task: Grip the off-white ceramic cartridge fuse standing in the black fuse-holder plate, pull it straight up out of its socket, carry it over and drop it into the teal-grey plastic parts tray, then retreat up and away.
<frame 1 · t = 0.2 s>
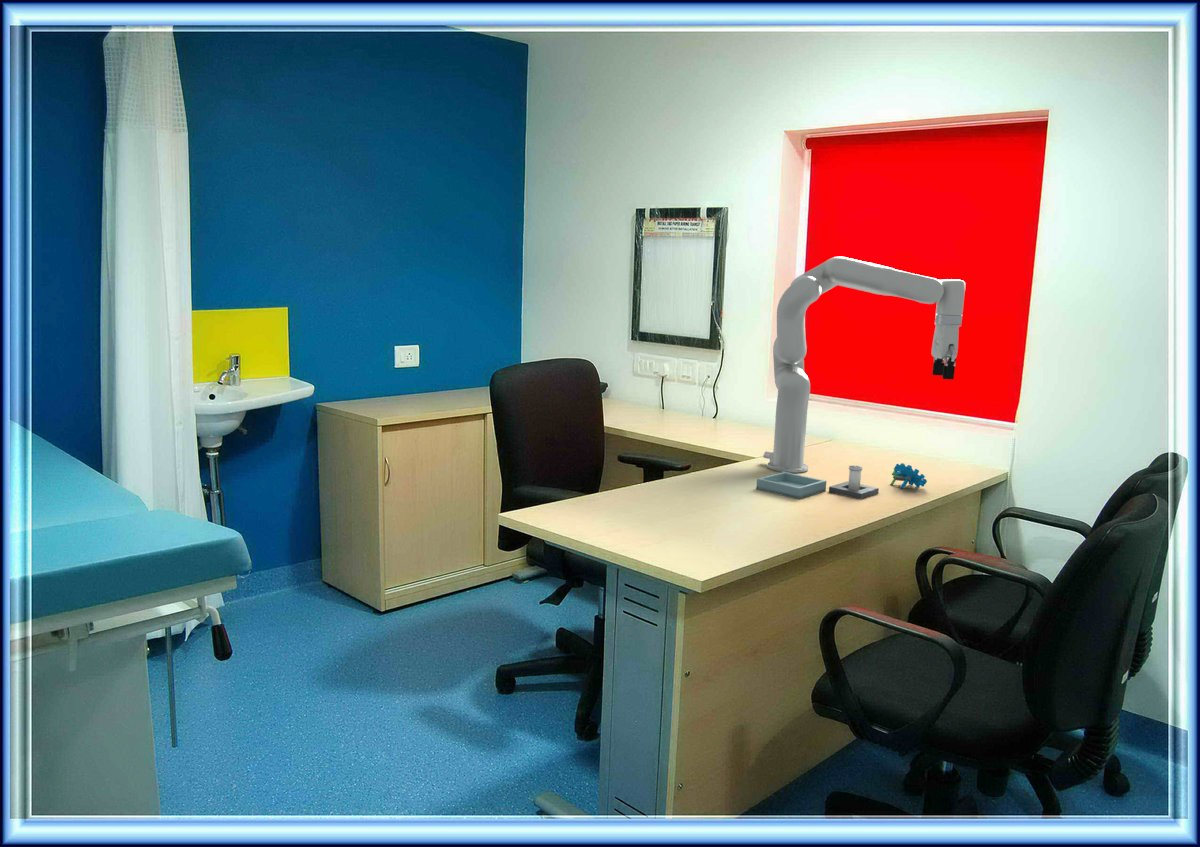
hand: (942, 377, 273), 31 cm above the table, tool pointing down, fingers open, 9 cm apart
parts tray: (791, 490, 255), on the table
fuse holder: (853, 492, 254), on the table
blue lumpy figure: (907, 488, 263), on the table
fuse: (854, 479, 254), in the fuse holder
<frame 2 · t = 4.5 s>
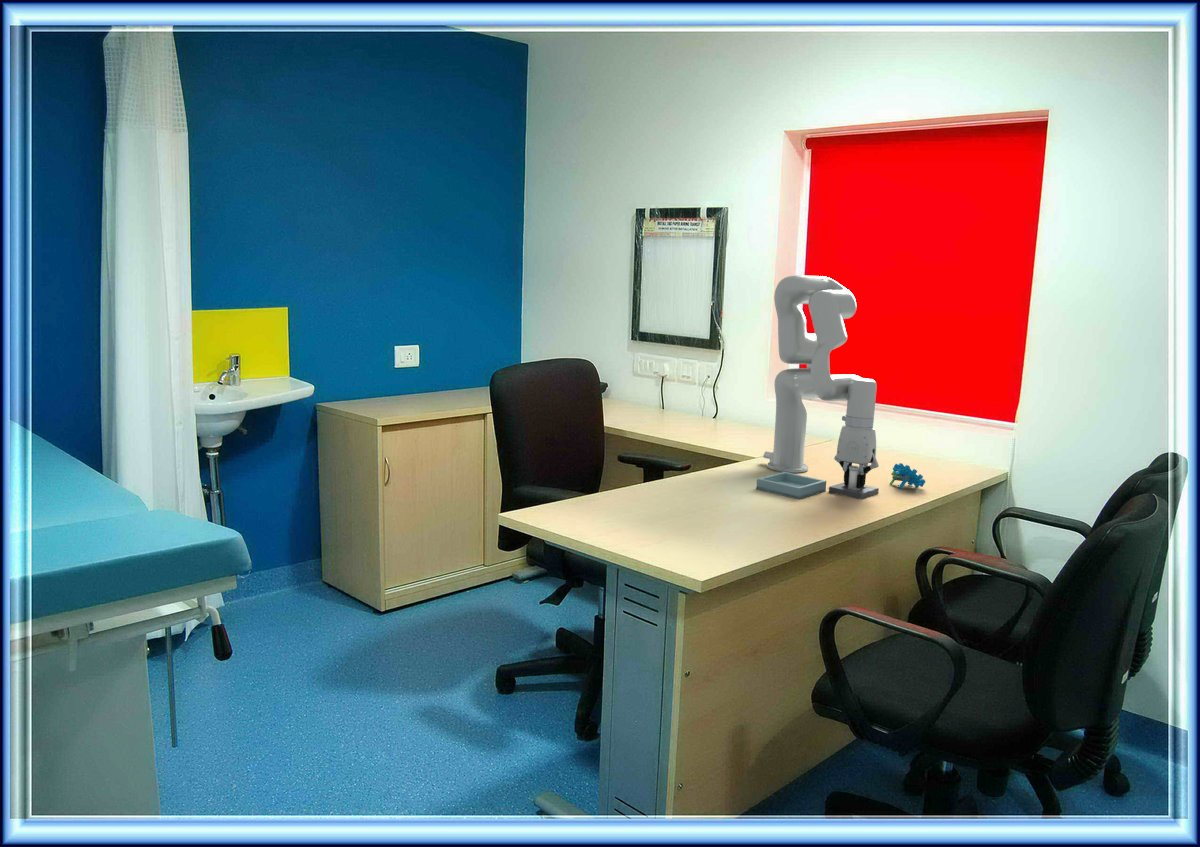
hand: (854, 485, 254), 2 cm above the table, tool pointing down, fingers closed on fuse, 3 cm apart
fuse: (854, 479, 254), in the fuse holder, touching gripper
everything else where it was.
when the fingers open (4 cm above the table, at t = 10.6 s): fuse drops 1 cm, resting on parts tray.
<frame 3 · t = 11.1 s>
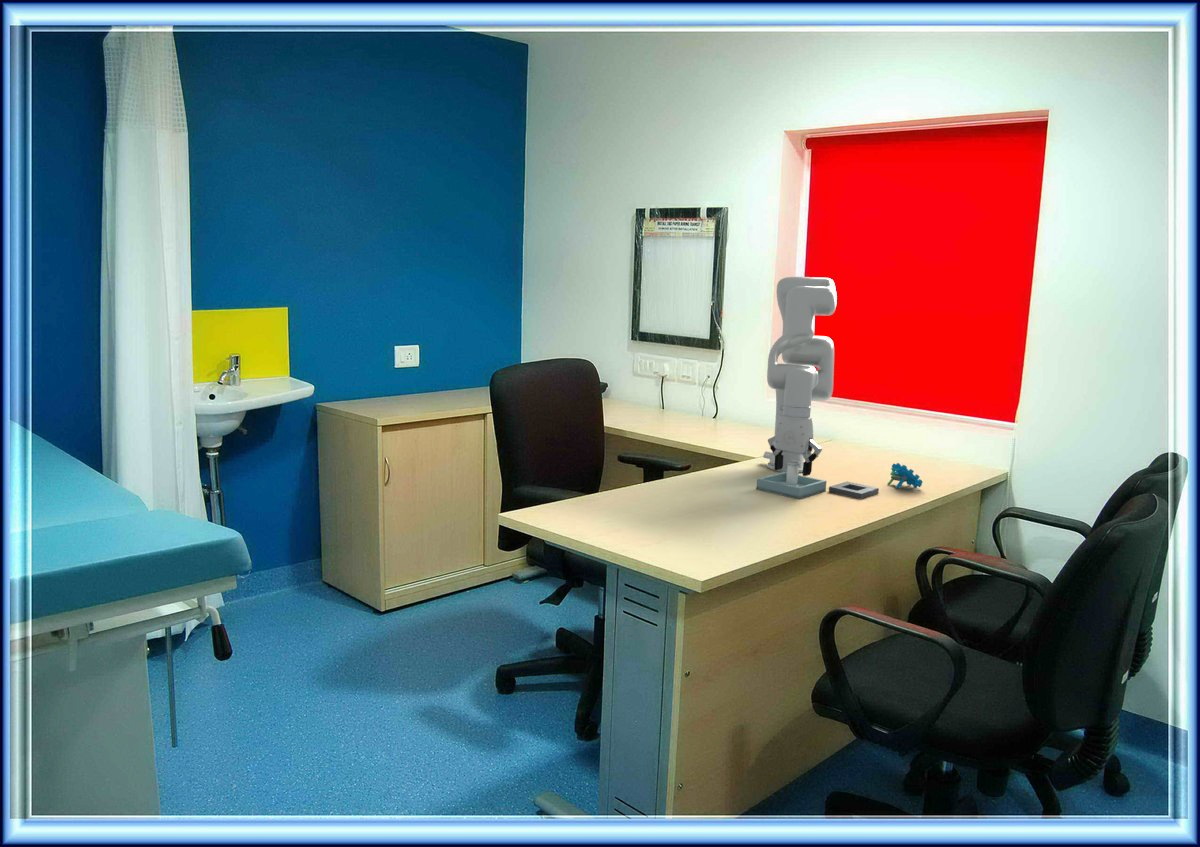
hand: (792, 472, 254), 5 cm above the table, tool pointing down, fingers open, 8 cm apart
fuse: (792, 474, 254), in the parts tray, point 5 cm above the table
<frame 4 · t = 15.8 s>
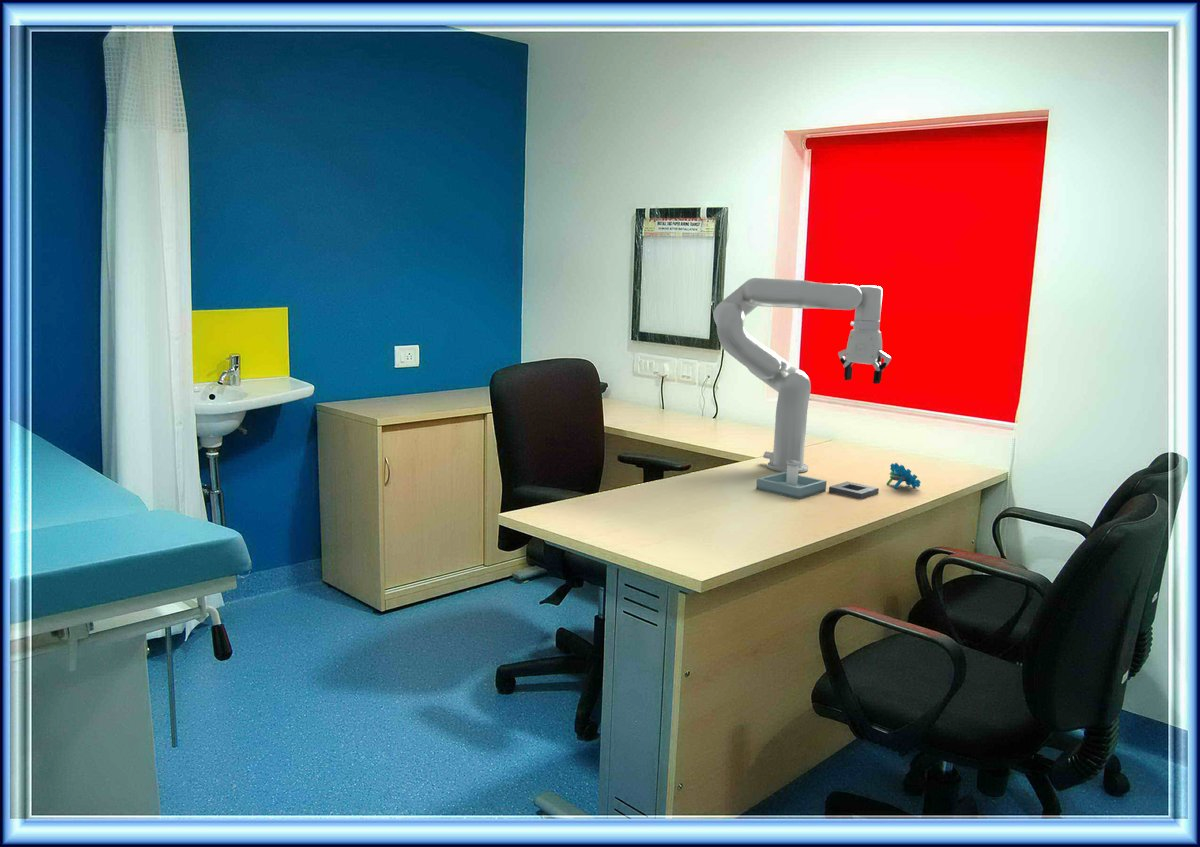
hand: (862, 381, 277), 28 cm above the table, tool pointing down, fingers open, 9 cm apart
at the end: fuse inside the target area on the parts tray (0.1 cm from its centre), point 4.6 cm above the parts tray's base; fuse moved 17.7 cm from its start; the gripper is holding nothing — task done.
